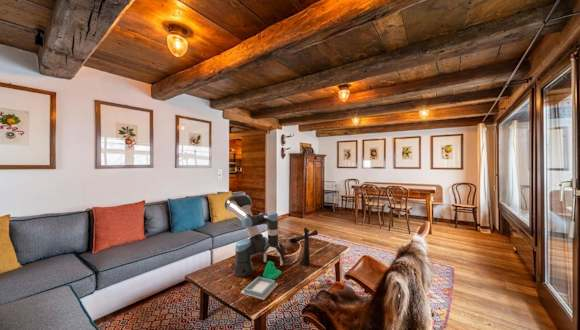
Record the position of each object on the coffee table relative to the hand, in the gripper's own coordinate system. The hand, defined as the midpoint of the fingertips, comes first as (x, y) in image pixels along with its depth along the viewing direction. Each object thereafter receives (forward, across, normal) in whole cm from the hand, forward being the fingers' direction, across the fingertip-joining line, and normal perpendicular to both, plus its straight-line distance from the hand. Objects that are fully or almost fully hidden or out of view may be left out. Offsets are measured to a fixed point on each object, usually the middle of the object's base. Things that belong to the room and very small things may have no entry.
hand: (273, 263), depth 165 cm
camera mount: (+10, -1, 0) cm, 10 cm away
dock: (+10, 0, -18) cm, 20 cm away
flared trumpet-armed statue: (+10, +14, +28) cm, 33 cm away
